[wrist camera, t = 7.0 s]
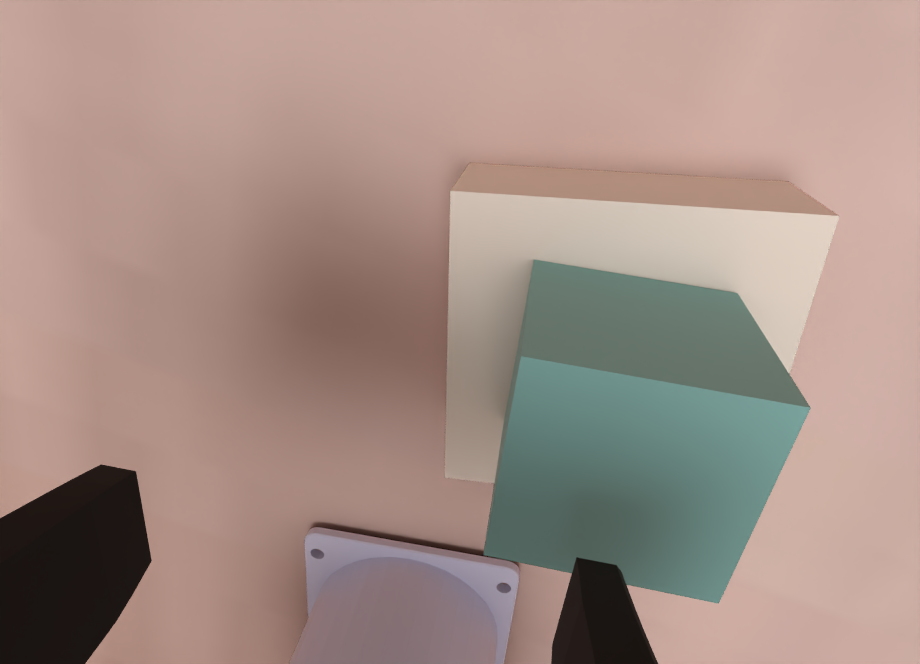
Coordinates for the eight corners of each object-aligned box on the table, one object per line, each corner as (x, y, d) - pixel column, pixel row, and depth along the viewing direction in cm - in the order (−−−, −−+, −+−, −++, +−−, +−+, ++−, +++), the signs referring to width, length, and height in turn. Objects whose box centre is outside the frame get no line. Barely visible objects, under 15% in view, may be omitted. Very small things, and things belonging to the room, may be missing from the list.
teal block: (679, 453, 15) (718, 603, 11) (503, 421, 16) (483, 554, 12) (737, 293, 13) (811, 408, 9) (533, 259, 14) (521, 355, 10)
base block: (715, 435, 19) (745, 514, 16) (462, 408, 20) (444, 477, 17) (783, 178, 15) (839, 215, 12) (471, 159, 16) (450, 190, 13)
